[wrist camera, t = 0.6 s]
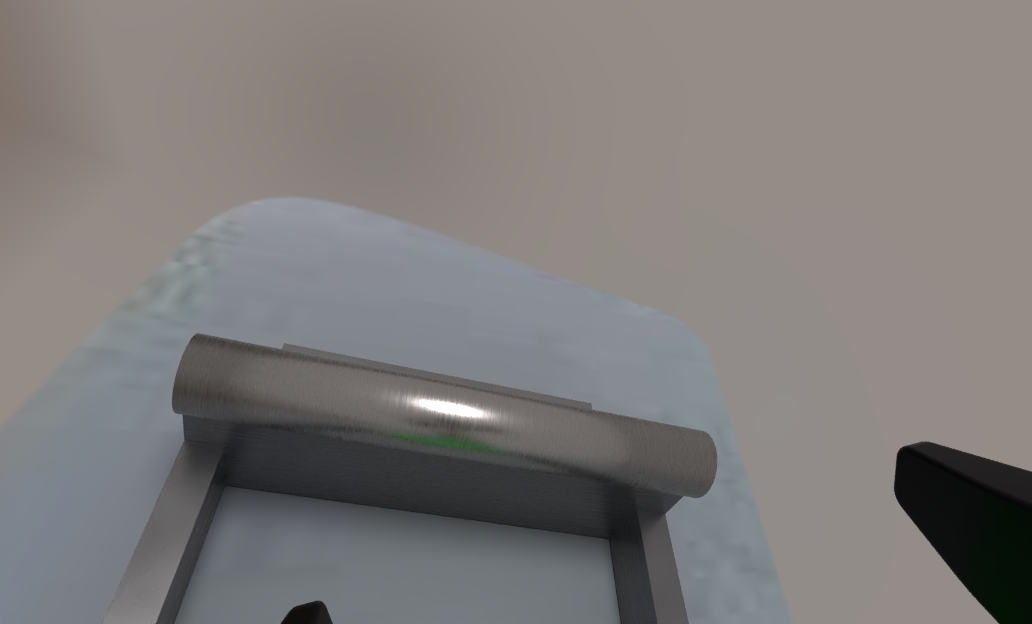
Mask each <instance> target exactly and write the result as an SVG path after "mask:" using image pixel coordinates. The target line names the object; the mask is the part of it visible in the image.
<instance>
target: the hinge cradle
mask: <svg viewBox="0 0 1032 624" xmlns="http://www.w3.org/2000/svg"><path fill="white" fill-rule="evenodd" d="M172 407H173V411H174V412H175V413H177V414H183V427H184V439H185V440H184V443H183V445H182V447H181V449H180V452H179V454H178V456H177V458H176V460H175V463H174V465H173V467H172V469H171V472H170V474H169V476H168V478H167V480H166V483H165V485H164V487H163V489H162V492H161V494H160V496H159V498H158V500H157V503H156V505H155V507H154V509H153V512H152V514H151V516H150V518H149V520H148V523H147V525H146V527H145V529H144V532H143V534H142V536H141V538H140V540H139V543H138V545H137V547H136V549H135V552H134V554H133V556H132V558H131V560H130V563H129V565H128V567H127V569H126V572H125V574H124V576H123V578H122V580H121V583H120V585H119V587H118V589H117V592H116V594H115V596H114V598H113V600H112V603H111V605H110V607H109V609H108V612H107V614H106V616H105V618H104V620H103V623H102V624H174V621H175V618H176V616H177V613H178V610H179V608H180V605H181V602H182V599H183V597H184V594H185V591H186V589H187V586H188V583H189V580H190V578H191V575H192V572H193V570H194V567H195V564H196V561H197V559H198V556H199V553H200V551H201V548H202V545H203V542H204V540H205V537H206V534H207V532H208V529H209V526H210V523H211V521H212V518H213V515H214V513H215V510H216V507H217V505H218V502H219V499H220V496H221V494H222V491H223V488H224V486H225V485H227V486H235V487H242V488H249V489H256V490H263V491H270V492H278V493H285V494H292V495H299V496H306V497H314V498H321V499H328V500H335V501H342V502H349V503H357V504H364V505H371V506H378V507H385V508H393V509H400V510H407V511H414V512H421V513H428V514H436V515H443V516H450V517H457V518H464V519H472V520H479V521H486V522H493V523H500V524H508V525H515V526H522V527H529V528H536V529H543V530H551V531H558V532H565V533H572V534H579V535H587V536H594V537H601V538H608V539H610V546H611V554H612V561H613V568H614V575H615V582H616V589H617V597H618V604H619V611H620V618H621V624H689V623H688V618H687V614H686V609H685V604H684V600H683V595H682V591H681V586H680V581H679V577H678V572H677V567H676V563H675V558H674V553H673V549H672V544H671V540H670V535H669V530H668V526H667V521H666V516H665V514H666V513H667V512H668V511H669V510H670V509H671V508H672V507H673V506H674V505H675V504H676V503H677V502H678V501H679V500H680V499H681V498H682V497H683V496H686V497H692V498H700V497H702V496H704V495H705V494H706V493H707V492H708V491H709V489H710V488H711V486H712V484H713V482H714V479H715V475H716V470H717V452H716V448H715V444H714V442H713V440H712V438H711V437H710V435H709V434H707V433H706V432H704V431H700V430H695V429H690V428H685V427H679V426H674V425H669V424H664V423H659V422H654V421H648V420H643V419H638V418H633V417H628V416H623V415H617V414H612V413H607V412H602V411H597V410H592V406H591V404H590V403H585V402H580V401H575V400H570V399H565V398H560V397H555V396H550V395H544V394H539V393H534V392H529V391H524V390H519V389H514V388H509V387H504V386H499V385H494V384H488V383H483V382H478V381H473V380H468V379H463V378H458V377H453V376H448V375H443V374H438V373H432V372H427V371H422V370H417V369H412V368H407V367H402V366H397V365H392V364H387V363H381V362H376V361H371V360H366V359H361V358H356V357H351V356H346V355H341V354H336V353H331V352H325V351H320V350H315V349H310V348H305V347H300V346H295V345H290V344H285V343H284V345H283V348H282V349H277V348H272V347H267V346H262V345H256V344H251V343H246V342H241V341H236V340H231V339H225V338H220V337H215V336H210V335H205V334H200V333H197V334H195V335H194V336H193V337H192V339H191V340H190V342H189V343H188V345H187V347H186V349H185V351H184V353H183V356H182V358H181V361H180V364H179V367H178V370H177V374H176V378H175V382H174V387H173V395H172Z"/></svg>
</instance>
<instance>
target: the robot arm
mask: <svg viewBox="0 0 1032 624" xmlns="http://www.w3.org/2000/svg"><path fill="white" fill-rule="evenodd" d="M894 492H895V495H896V499H897V500H898V502H899V504H900V506H901V507H902V508H903V510H904V511H905V512H906V513H907V515H908V516H909V517H910V518H911V519H912V521H913V522H914V523H915V525H916V526H917V527H918V528H919V530H920V531H921V532H922V533H923V535H924V536H925V537H926V538H927V540H928V541H929V542H930V543H931V545H932V546H933V547H934V548H935V550H936V551H937V552H938V554H939V555H940V556H941V557H942V559H943V560H944V561H945V562H946V564H947V565H948V566H949V567H950V569H951V570H952V571H953V572H954V574H955V575H956V576H957V577H958V579H959V580H960V581H961V582H962V583H963V584H964V586H965V587H966V588H967V589H968V590H969V592H970V593H971V594H972V595H973V596H974V597H975V598H976V599H977V601H978V602H979V603H980V604H981V605H982V606H983V607H984V608H985V609H986V610H987V611H988V612H989V613H990V614H991V615H992V617H993V618H994V619H995V620H996V621H997V622H998V623H999V624H1032V472H1031V471H1027V470H1024V469H1021V468H1017V467H1014V466H1010V465H1007V464H1003V463H1000V462H997V461H993V460H990V459H986V458H983V457H980V456H976V455H973V454H969V453H966V452H962V451H959V450H956V449H952V448H949V447H945V446H941V445H938V444H935V443H931V442H919V443H915V444H911V445H907V446H904V447H902V448H900V450H899V451H898V453H897V460H896V471H895V482H894ZM281 624H333V623H332V621H331V618H330V615H329V613H328V610H327V608H326V606H325V604H324V603H323V602H322V601H314V602H310V603H306V604H303V605H299V606H296V607H294V608H293V609H291V610H290V611H289V613H288V614H287V615H286V617H285V618H284V620H283V621H282V622H281Z"/></svg>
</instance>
